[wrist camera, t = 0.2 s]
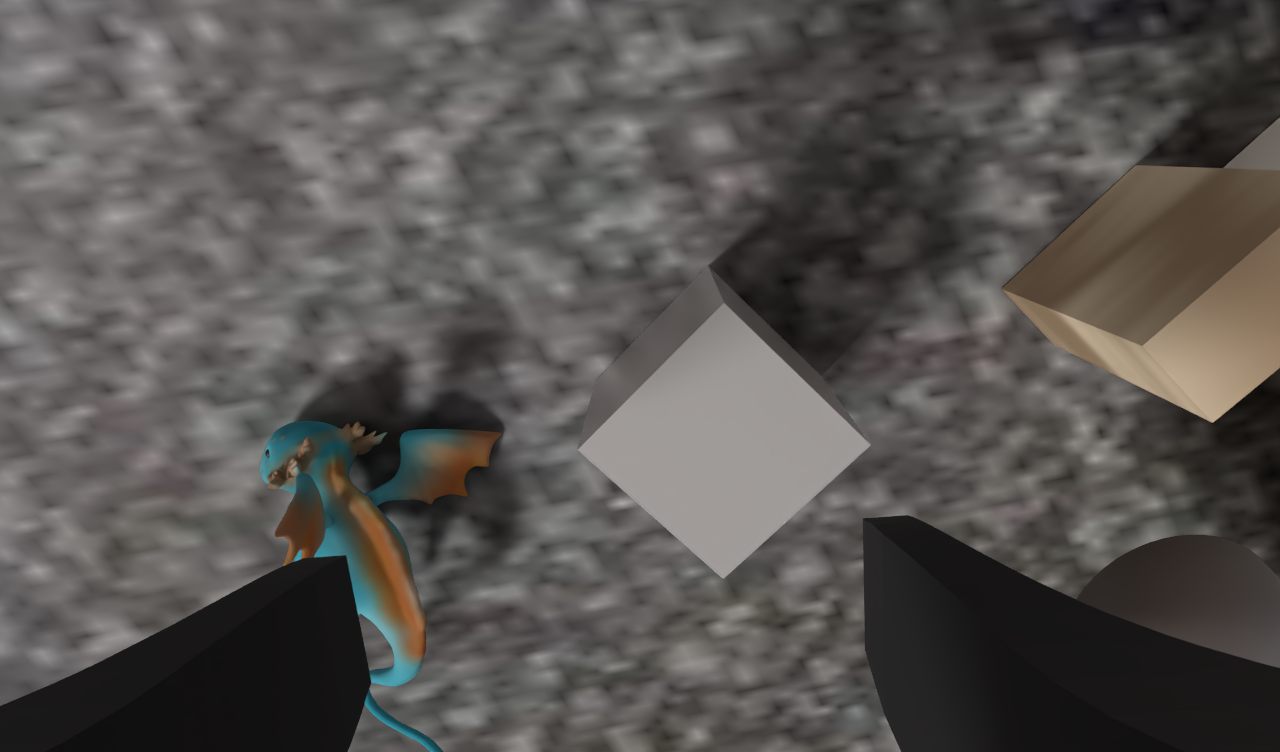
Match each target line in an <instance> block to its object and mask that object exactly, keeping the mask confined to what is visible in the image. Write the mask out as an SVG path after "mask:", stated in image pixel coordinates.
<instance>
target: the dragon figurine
mask: <svg viewBox="0 0 1280 752" xmlns="http://www.w3.org/2000/svg"><path fill="white" fill-rule="evenodd" d="M364 432H365V427H364V426H360V423H359V422H356V423H355V424H354V426H353V427H352V428H351V427H350V425H349V424H348V423H347V424H346V425H345V427H344V428H343V429H340V428H338V427H336V426H334V425H331V424H328V423H324V422H318V421H297V422H293V423H290V424H287V425H285V426H283V427H281V428H280V429H278V430H277V431H276V432H275V433H274V434H273V435H272V436H271V438H270V440H269V441H268V443H267V445H266V448H265V450H264V453H263V456H262V459H261V462H260V474H261V477H262V479H263V480H264V481H265V482H266V483H267V484H268V488H270V489H278V488H279V489H283V490H287V491H290V492H292V493H294V494H295V495H294V498H293V500H292V501H291V503H290V505H289V507H288V509H287V511H286V513H285V515H284V517H283V518H282V520H281V522H280V524H279V526H278V527H277V529H276V531H275V537H285V538H286V539H287V540H288V541H289V542H290V545H289V549H288V553H287V557H286V560H285V562H284V564H283V566H285V565H287V564H288V563H290V562H291V561H292V560H293V559H294V558H295V561H297V560H300V559H303V558H313V557H327V556H341V555H346V557H347V562H348V567H349V572H350V577H351V582H352V587H353V592H354V597H355V602H356V607H357V612H358V616H359V615H360V614H363V615H364V616H365V617H366V618H368V619H369V620H371V621H372V622H373V623H374V624H375V625H376V626H377V627H378V628H379V629H380V631H381V632H382V633H383V634H384V636H385V637H386V638H387V640H388V641H389V643H390V645H391V646H392V649H393V653H394V659H395V661H394V666H392V667H390V668H384V669H375V670H371V671H369V673H370V678H371V683H376V684H381V685H387V686H399V685H402V684H404V683H406V682H408V681H409V680H411V679H412V678H413V677H415V676H416V674H417V673H418V672H419V670H420V668H421V665H422V662H423V658H424V655H425V652H426V632H425V627H426V621H427V619H426V615H425V613H424V611H423V609H422V606H421V601H420V598H419V595H418V591H417V588H416V586H415V583H414V579H413V575H412V568H411V562H410V557H409V553H408V550H407V547H406V544H405V542H404V540H403V538H402V536H401V534H400V532H399V531H398V529H397V528H396V526H395V525H394V524H393V523H392V522H391V521H390V520H389V519H388V518H387V517H386V516H385V515H384V514H383V513H382V512H381V510H380V509H379V508H378V507H377V506H378V505H380V504H381V503H383V502H387V501H392V500H412V499H416V500H422V501H425V502H426V503H428V504H432V502H433V500H434V499H436V498H438V497H440V496H444V495H448V494H455V495H460V496H463V497H468V493H467V491H466V489H465V476H466V473H467V472H468V471H469V470H470V469H471V468H472V467H474V466H481V467H487V466H490V463H489V456H490V452H491V449H492V446H493V443H494V442H495V441H496V439H498V438H499V437H500V436H501V435H502V433H497V432H488V431H477V430H458V429H418V430H410V431H406V432H404V433H403V434H402V435H401V438H400V451H401V463H400V467H399V470H398V472H397V473H396V475H395V476H394V478H393V479H391V480H390V481H388V482H387V483H385V484H384V485H382V486H380V487H378V488H376V489H375V490H373V491H370V492H368V493H366V494H364V493H363V492H362V491H360V490H359V489H358V488H356V487H355V486H354V485H353V484H352V482H351V480H350V478H349V471H350V468H351V465H352V463H353V461H354V459H355V457H356V455H363V454H366V453H367V452H369V451H370V450H371V449H372V447H373V446H374V445H378V444H380V443H381V442H382V439H383V437H384V436H385V435H386V434H387V432H385V433H383V434H380V435H378V436H375V437H374V434H375V433H376V431H374V432H373V433H371V434H369V435H367V436H363V434H364ZM365 705H366V707H367V708H368V709H369V710H370V711H371V712H372V714H373V715H374V716H376V717H377V718H378V719H379V720H381V721H382V722H384V723H385V724H387V725H388V726H390V727H392V728H394V729H396V730H397V731H399V732H401V733H403V734H404V735H406V736H408V737H410V738H413V739H414V740H416V741H418V742H420V743H421V744H422V745H424V746H425V747H426V748H427V749H428V750H429V751H430V752H443V751H442V750H441V748H440V747H439V746H438V745H437V744H436V743H435V742H434V741H433V740H432V739H430V738H429V737H427V736H425V735H424V734H422V733H421V732H419V731H417V730H415V729H413V728H411V727H409V726H407V725H405V724H402V723H401V722H399V721H397V720H395V719H394V718H393V717H392V716H390V715H389V714H387V713H386V712H385V711H384V710H382V709H381V708H380V707H379V706H378V705H377V703H376V702H375V700H374V699H373V697H372V696H371V693H370V690H369V691H368V694H367V697H366V700H365Z"/></svg>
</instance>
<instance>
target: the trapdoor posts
mask: <svg viewBox="0 0 1280 752" xmlns="http://www.w3.org/2000/svg"><path fill="white" fill-rule="evenodd" d="M1002 290H1003V291H1004V292H1005V293H1006V295H1007V296H1008V297H1009V298H1010V299H1011V300H1012V301H1013V302H1014V303H1015V304H1016V305H1017V306H1018V307H1019V308H1020V309H1021V310H1022V311H1023V312H1024V314H1025V315H1026V316H1027V317H1028V318H1029V319H1030V320H1031V321H1032V322H1033V323H1034V324H1035V325H1036V326H1037V327H1038V328H1039V329H1040V330H1041V331H1042V333H1043V334H1044V335H1045V336H1046V337H1047V338H1048V339H1049V340H1050V341H1051V342H1052V343H1053V344H1054V345H1056V346H1058V347H1060V348H1062V349H1064V350H1066V351H1068V352H1070V353H1072V354H1074V355H1076V356H1078V357H1080V358H1082V359H1084V360H1086V361H1088V362H1090V363H1092V364H1094V365H1096V366H1098V367H1100V368H1102V369H1104V370H1106V371H1108V372H1110V373H1112V374H1115V375H1117V376H1119V377H1121V378H1123V379H1125V380H1127V381H1129V382H1131V383H1133V384H1135V385H1137V386H1139V387H1141V388H1143V389H1145V390H1147V391H1149V392H1151V393H1153V394H1155V395H1157V396H1159V397H1161V398H1163V399H1165V400H1167V401H1169V402H1171V403H1173V404H1175V405H1177V406H1180V407H1182V408H1184V409H1186V410H1188V411H1190V412H1192V413H1194V414H1196V415H1198V416H1200V417H1202V418H1204V419H1206V420H1208V421H1210V422H1212V423H1213V422H1214V421H1216V420H1217V419H1218V418H1219V417H1221V416H1222V415H1223V414H1224V413H1225V412H1227V411H1228V410H1229V409H1230V408H1231V407H1233V406H1234V405H1235V404H1236V403H1238V402H1239V401H1240V400H1241V399H1242V398H1244V397H1245V396H1246V395H1247V394H1249V393H1250V392H1251V391H1252V390H1253V389H1255V388H1256V387H1257V386H1258V385H1259V384H1261V383H1262V382H1263V381H1264V380H1266V379H1267V378H1268V377H1269V376H1270V375H1272V374H1273V373H1274V372H1275V371H1276V370H1278V369H1279V368H1280V170H1258V169H1229V168H1201V167H1172V166H1144V165H1135V166H1134V167H1133V168H1132V169H1131V170H1130V171H1129V172H1128V173H1127V174H1125V175H1124V176H1123V177H1122V178H1121V179H1120V180H1119V181H1118V182H1117V183H1116V184H1115V185H1114V186H1112V187H1111V188H1110V189H1109V190H1108V191H1107V192H1106V193H1105V194H1104V195H1103V196H1102V197H1100V198H1099V199H1098V200H1097V201H1096V202H1095V203H1094V204H1093V205H1092V206H1091V207H1090V208H1089V209H1087V210H1086V211H1085V212H1084V213H1083V214H1082V215H1081V216H1080V217H1079V218H1078V219H1077V220H1075V221H1074V222H1073V223H1072V224H1071V225H1070V226H1069V227H1068V228H1067V229H1066V230H1065V231H1064V232H1062V233H1061V234H1060V235H1059V236H1058V237H1057V238H1056V239H1055V240H1054V241H1053V242H1052V243H1050V244H1049V245H1048V246H1047V247H1046V248H1045V249H1044V250H1043V251H1042V252H1041V253H1040V254H1039V255H1037V256H1036V257H1035V258H1034V259H1033V260H1032V261H1031V262H1030V263H1029V264H1028V265H1027V266H1025V267H1024V268H1023V269H1022V270H1021V271H1020V272H1019V273H1018V274H1017V275H1016V276H1015V277H1014V278H1012V279H1011V280H1010V281H1009V282H1008V283H1007V284H1006V285H1005V286H1004V287H1003V288H1002Z"/></svg>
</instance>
